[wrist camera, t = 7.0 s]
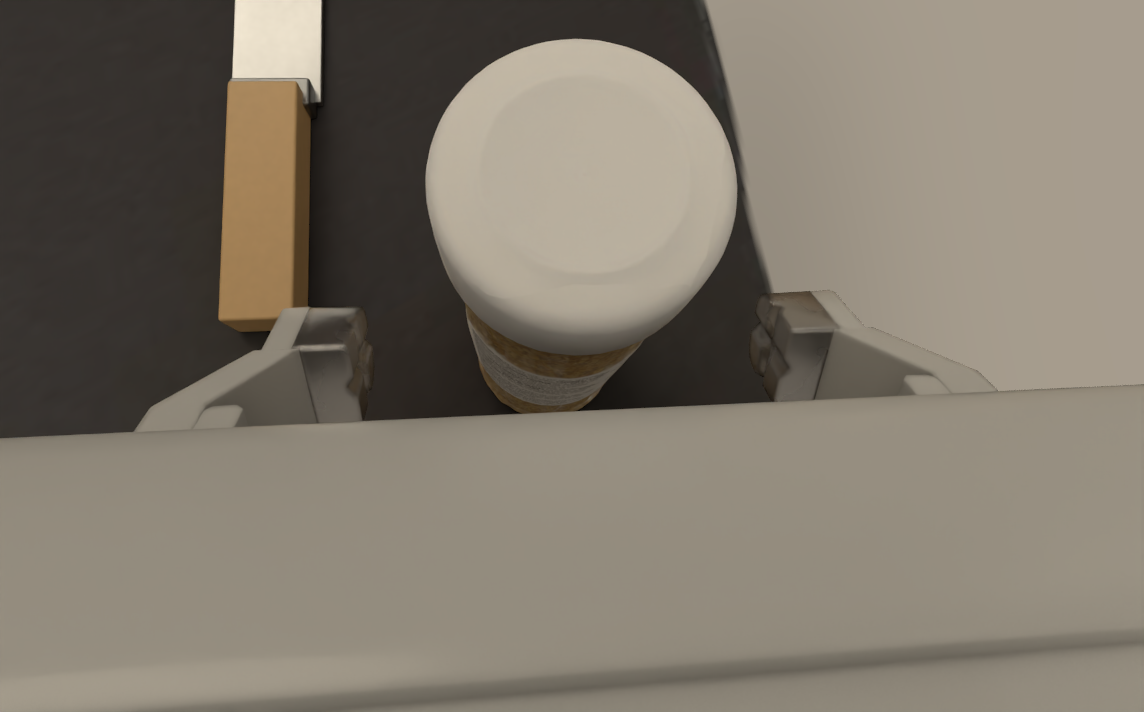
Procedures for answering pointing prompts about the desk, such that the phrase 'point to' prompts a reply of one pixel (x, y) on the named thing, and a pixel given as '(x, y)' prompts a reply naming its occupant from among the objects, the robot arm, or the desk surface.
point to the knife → (269, 159)
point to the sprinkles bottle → (575, 212)
